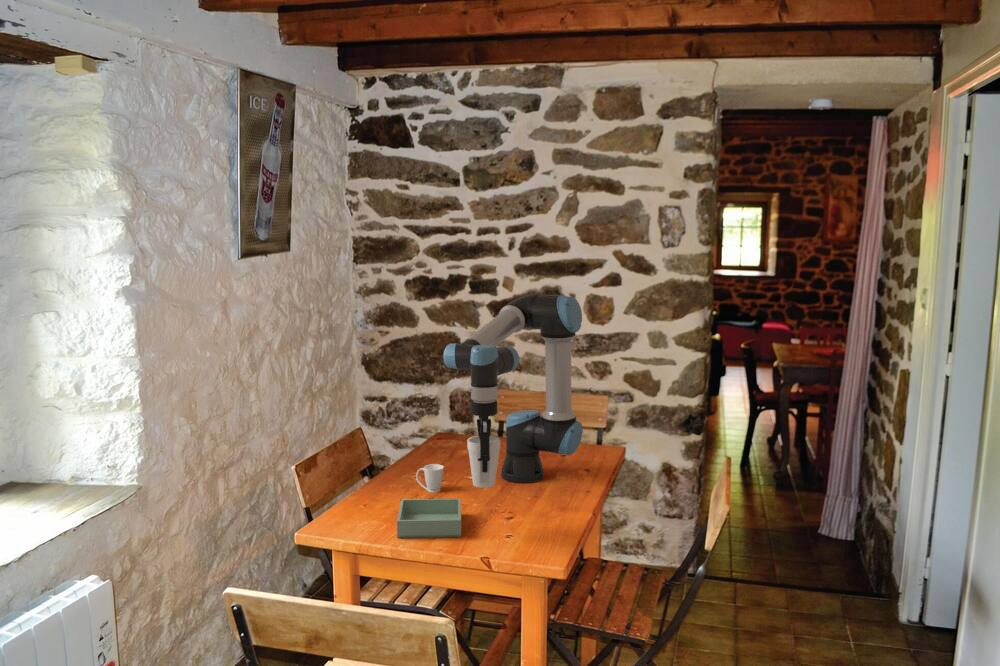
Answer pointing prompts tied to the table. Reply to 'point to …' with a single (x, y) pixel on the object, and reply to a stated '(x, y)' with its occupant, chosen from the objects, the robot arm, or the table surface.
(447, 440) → the table surface
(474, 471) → the foam cup
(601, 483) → the table surface
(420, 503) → the bin
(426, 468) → the cup
